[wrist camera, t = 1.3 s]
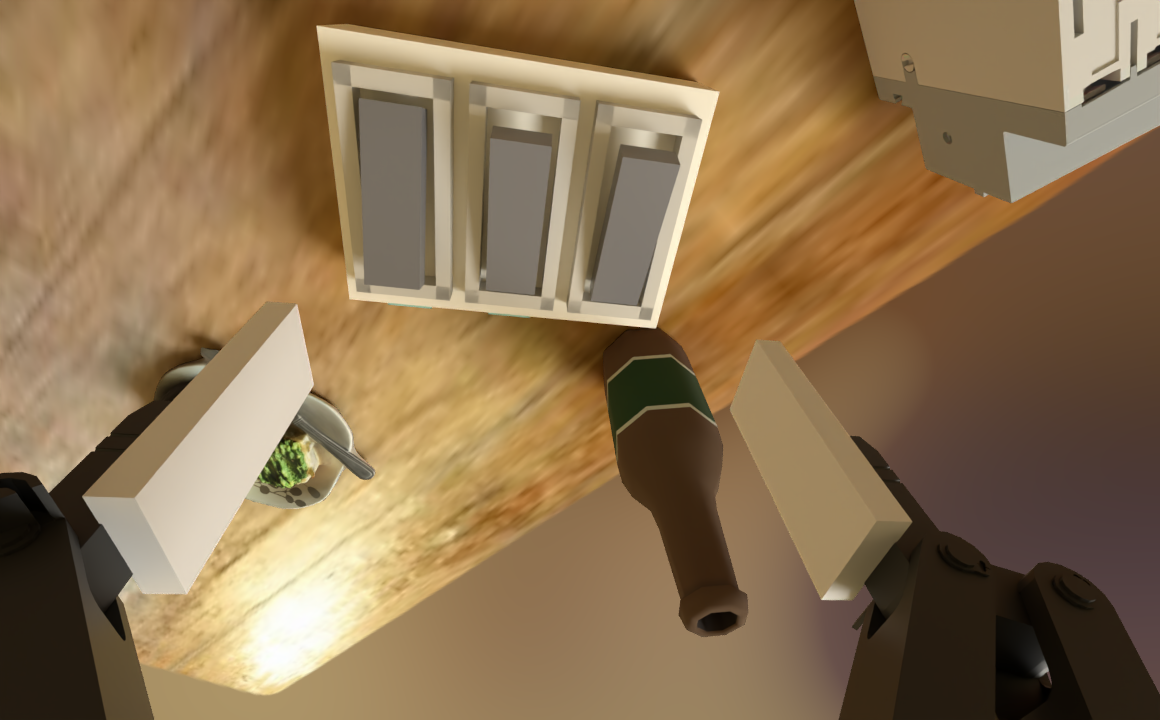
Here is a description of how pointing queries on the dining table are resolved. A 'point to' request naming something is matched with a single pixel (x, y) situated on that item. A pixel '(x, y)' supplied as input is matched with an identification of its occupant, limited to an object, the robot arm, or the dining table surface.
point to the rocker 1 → (393, 193)
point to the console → (462, 156)
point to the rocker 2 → (516, 207)
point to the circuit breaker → (1017, 82)
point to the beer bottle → (674, 471)
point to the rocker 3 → (632, 222)
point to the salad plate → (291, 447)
